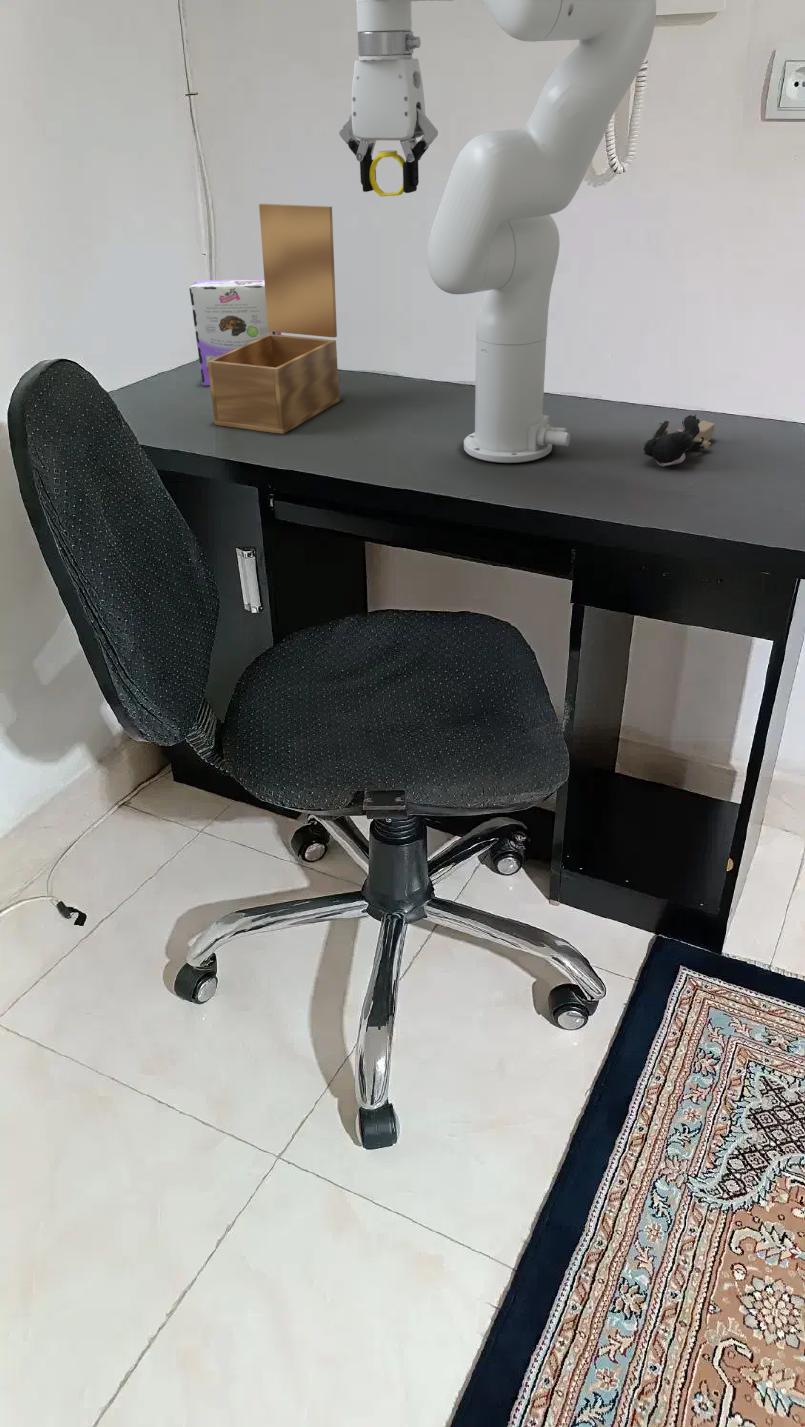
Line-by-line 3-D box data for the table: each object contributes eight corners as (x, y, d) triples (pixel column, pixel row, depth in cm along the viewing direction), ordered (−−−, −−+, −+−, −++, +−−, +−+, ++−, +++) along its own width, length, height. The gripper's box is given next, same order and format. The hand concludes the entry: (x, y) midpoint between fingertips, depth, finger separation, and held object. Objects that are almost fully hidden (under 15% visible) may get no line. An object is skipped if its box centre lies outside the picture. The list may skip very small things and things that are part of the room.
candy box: (286, 377, 184) (277, 277, 175) (279, 386, 179) (270, 284, 170) (209, 376, 185) (197, 278, 176) (201, 386, 180) (187, 285, 171)
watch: (412, 195, 155) (411, 150, 152) (404, 197, 153) (403, 152, 150) (376, 194, 157) (374, 149, 154) (367, 196, 155) (366, 151, 152)
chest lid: (329, 207, 155) (346, 203, 159) (258, 204, 160) (276, 201, 164) (334, 337, 165) (350, 331, 169) (267, 331, 170) (284, 325, 174)
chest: (283, 434, 157) (277, 369, 152) (214, 424, 162) (206, 361, 157) (339, 401, 171) (336, 340, 166) (274, 393, 176) (269, 333, 170)
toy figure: (668, 436, 153) (635, 463, 142) (679, 393, 150) (646, 418, 138) (715, 449, 151) (686, 477, 139) (727, 406, 147) (698, 432, 136)
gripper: (452, 45, 144) (453, 189, 154) (343, 49, 151) (350, 187, 161) (429, 46, 139) (431, 196, 149) (317, 50, 146) (326, 193, 155)
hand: (389, 190), depth 155 cm, fingers closed on watch, 6 cm apart
